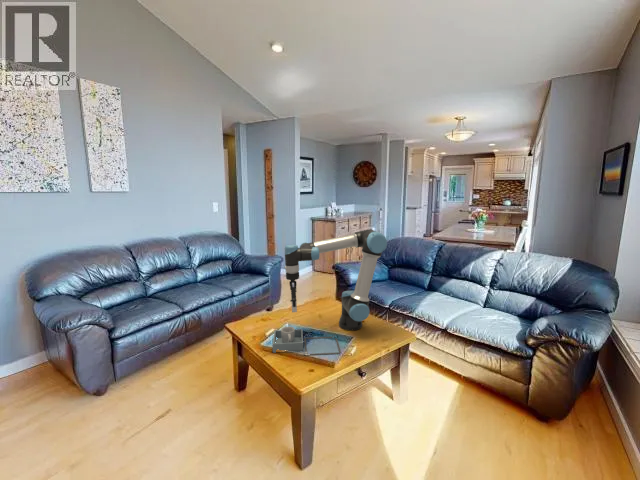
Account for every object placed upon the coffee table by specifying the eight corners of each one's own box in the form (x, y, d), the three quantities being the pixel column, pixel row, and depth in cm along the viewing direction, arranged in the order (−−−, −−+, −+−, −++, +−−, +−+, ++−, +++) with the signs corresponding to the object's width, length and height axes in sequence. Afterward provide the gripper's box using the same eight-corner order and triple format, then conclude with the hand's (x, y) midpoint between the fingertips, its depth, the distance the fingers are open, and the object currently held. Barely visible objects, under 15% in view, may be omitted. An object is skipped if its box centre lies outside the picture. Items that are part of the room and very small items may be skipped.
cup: (297, 346, 174) (297, 333, 172) (283, 348, 171) (282, 335, 170) (293, 338, 184) (293, 325, 183) (280, 339, 182) (279, 327, 180)
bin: (302, 337, 186) (302, 329, 185) (303, 351, 170) (303, 342, 169) (274, 338, 185) (274, 330, 184) (272, 352, 169) (272, 344, 168)
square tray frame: (337, 337, 187) (337, 333, 187) (342, 355, 167) (342, 351, 166) (302, 338, 185) (302, 335, 185) (303, 357, 165) (303, 353, 165)
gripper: (285, 266, 187) (287, 300, 191) (285, 278, 163) (287, 316, 167) (298, 266, 188) (299, 299, 192) (300, 277, 164) (301, 315, 167)
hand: (294, 307), depth 179 cm, fingers open, 13 cm apart
